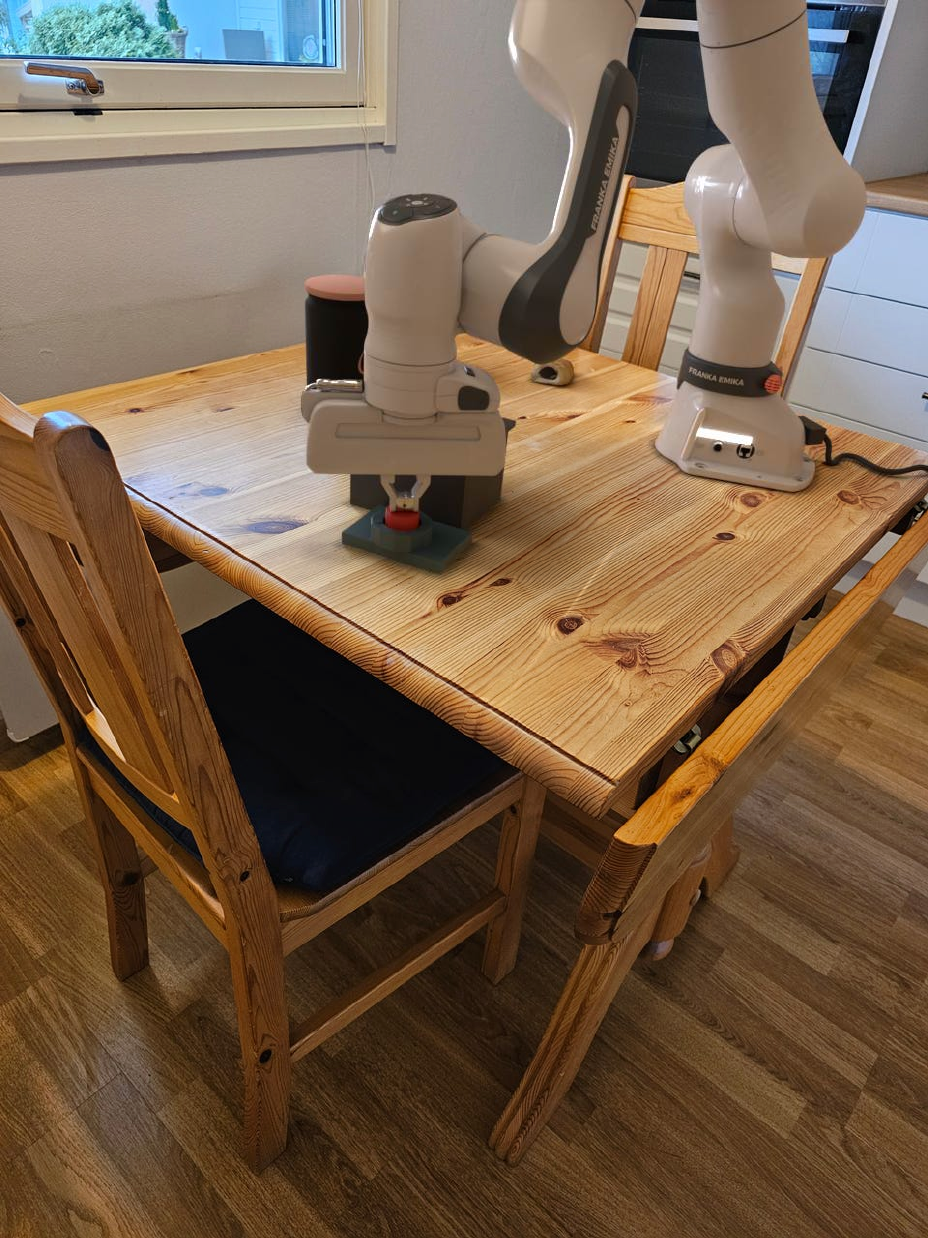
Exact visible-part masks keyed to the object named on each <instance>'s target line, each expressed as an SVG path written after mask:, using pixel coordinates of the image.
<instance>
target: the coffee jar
mask: <svg viewBox="0 0 928 1238" xmlns="http://www.w3.org/2000/svg"><path fill="white" fill-rule="evenodd" d="M304 289H305V291H306V292H307V295H308V296H307V297H306V298H305V300H304V325H305V326H304V327H305V329H304V330H305V332H304V333H305V370H306V371H305V372H306V387H307V386H308V385H310V384H313V383H317V380H319V379H330V380H335V381H336V380H363V379H364V344H365V340H366V337H367V333H368V327H369V318H368V313H367V309H366V305H365V277H363V276H357V275H347V274H323V275H322V274H321V275H317V276H312V277H310V278H307V279H306V280H305V281H304ZM312 389H317V387H315V388H312ZM362 392H363V393H364V391H363V390H362Z"/></svg>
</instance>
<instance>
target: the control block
mask: <svg viewBox="0 0 928 1238" xmlns="http://www.w3.org/2000/svg"><path fill="white" fill-rule="evenodd" d="M385 514H386V507H385V506H382V505H378V506H376V507H375V508H374V509H372V510H369V511H368V512H367V513H365V514H364V515H362V517H360V518H358V519H357V520H356V521H355V522H354V523H352V524H351V525H349V526H348V527H346V528H345V529H343V530H342V531H341V544H342V545H346V546H349V547H352V548H355V549H357V550H362V551H365V552H368V553H371V554H374V555H378V556H380V557H383V558H387V559H390V560H392V561H395V562H399V563H402V564H406V565H407V566H408V565H409V566H412V567H414V568H418V569H421V570H424V571H428V572H431V573H433V574H437V575H441V574H442V573H443V572H444V571H445V570H446V569H448V567H449V566H450V565H451V564H452V563H454V561H455V560H456V559H458V557H459V556H460V555H461V554H463V552H465V550H466V549H467V548H469V546H471V545H472V541H473V532H472V531H468V530H467V531H466V530H462V529H459V528H456V527H452V526H449V525H445V524H442V523H439V522H435V521H432V519H431V518H430V517H429V516H428V515H426V514H425V513H424V512H421V511H420V512H419V526H418V528H417V529H413V530H409V531H401V530H394V529H391V528H388V527H387V526H386V525H385Z"/></svg>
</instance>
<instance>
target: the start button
mask: <svg viewBox="0 0 928 1238" xmlns="http://www.w3.org/2000/svg"><path fill="white" fill-rule="evenodd" d="M419 512H420V511H419V509H418V512H390V505H389V506H387V507H386V514H385V525H386V526H387V527H388V528H391V529H394V530H401V531H409V530H413V529H417V528H418V526H419Z"/></svg>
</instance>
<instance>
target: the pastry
mask: <svg viewBox="0 0 928 1238" xmlns="http://www.w3.org/2000/svg"><path fill="white" fill-rule="evenodd" d="M574 374H575V367H574V365H573V363H572V361H570V360H568V359H565V358H564V357H562V358H560V359H558V360H556V361H554V362H551V363H548V364H543V365H540V364H536V363H534V364H533V367H532V370H531V372H530V377H531V379H532V381H533V382H535V383H538V384H542V385H543V384H545V385H547V384H550V385H554V386H565V385H567V384H569V383H570V382H572V379H573V377H574Z"/></svg>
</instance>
